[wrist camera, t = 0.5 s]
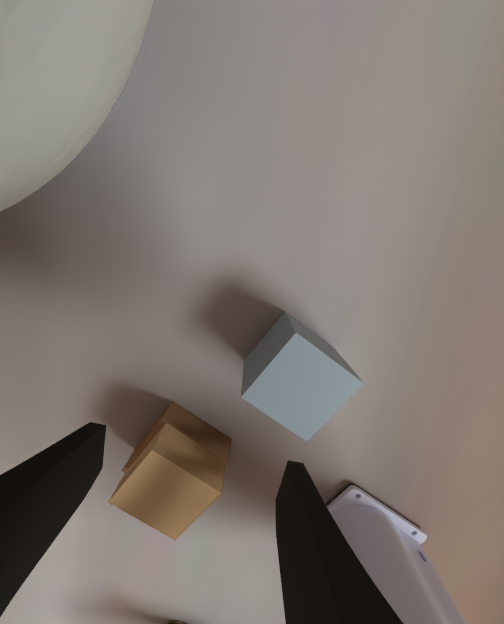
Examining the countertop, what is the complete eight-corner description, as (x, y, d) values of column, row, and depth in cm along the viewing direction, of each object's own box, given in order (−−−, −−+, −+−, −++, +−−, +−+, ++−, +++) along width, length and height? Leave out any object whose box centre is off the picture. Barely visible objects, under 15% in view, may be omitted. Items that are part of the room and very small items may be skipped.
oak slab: (226, 461, 18) (221, 493, 16) (185, 504, 19) (175, 540, 17) (166, 422, 17) (152, 449, 15) (127, 469, 19) (108, 502, 16)
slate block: (334, 348, 18) (363, 383, 13) (293, 394, 19) (306, 441, 14) (284, 310, 18) (296, 332, 13) (244, 359, 19) (240, 397, 14)
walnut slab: (231, 435, 21) (229, 459, 18) (193, 479, 22) (185, 507, 19) (174, 398, 20) (163, 418, 17) (137, 445, 21) (121, 470, 19)
